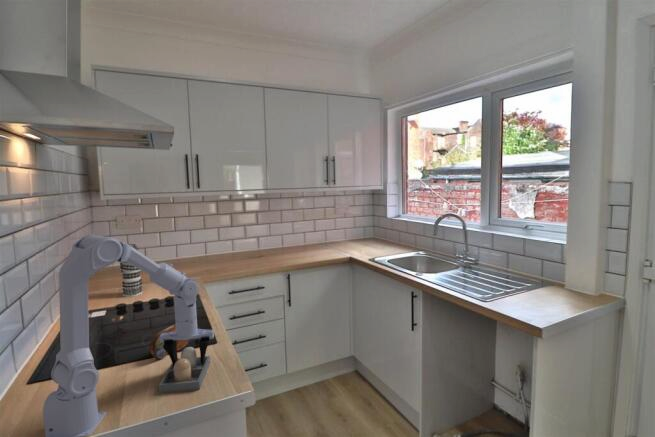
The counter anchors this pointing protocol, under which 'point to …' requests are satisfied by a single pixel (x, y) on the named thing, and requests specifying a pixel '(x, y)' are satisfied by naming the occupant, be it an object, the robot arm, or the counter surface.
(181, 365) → the brown egg
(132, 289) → the decorative candle
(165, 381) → the grey shallow tray
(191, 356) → the egg
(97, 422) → the robot arm
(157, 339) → the tin
